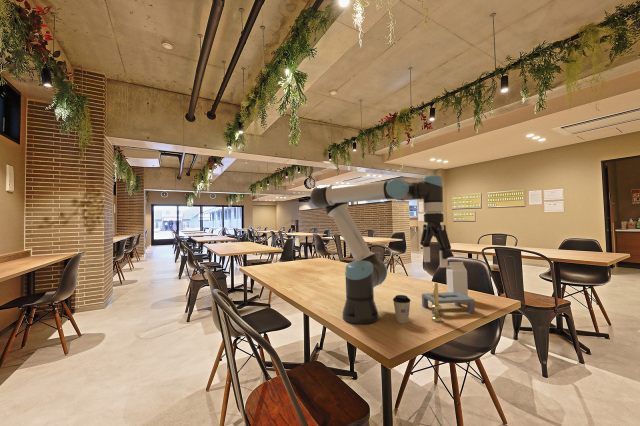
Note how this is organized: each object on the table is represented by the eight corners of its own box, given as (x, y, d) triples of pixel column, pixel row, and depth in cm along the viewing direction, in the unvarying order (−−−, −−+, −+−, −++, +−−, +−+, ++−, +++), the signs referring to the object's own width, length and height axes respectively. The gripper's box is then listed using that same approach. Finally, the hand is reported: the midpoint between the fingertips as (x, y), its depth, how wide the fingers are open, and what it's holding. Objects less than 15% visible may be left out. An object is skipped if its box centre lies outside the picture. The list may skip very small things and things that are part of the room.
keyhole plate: (434, 315, 116) (434, 301, 117) (422, 306, 128) (421, 293, 129) (474, 313, 118) (474, 299, 118) (458, 304, 129) (458, 292, 130)
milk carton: (468, 301, 134) (466, 263, 135) (453, 301, 134) (452, 263, 135) (461, 297, 141) (459, 260, 142) (447, 297, 141) (445, 261, 142)
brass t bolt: (434, 322, 108) (433, 284, 109) (430, 319, 112) (428, 282, 112) (443, 322, 109) (442, 284, 109) (439, 318, 112) (437, 282, 113)
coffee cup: (390, 319, 112) (389, 295, 113) (403, 317, 115) (402, 293, 115) (401, 325, 106) (400, 299, 106) (415, 322, 109) (414, 297, 109)
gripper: (460, 212, 100) (461, 269, 100) (427, 213, 125) (428, 259, 125) (440, 212, 100) (442, 270, 99) (411, 213, 124) (413, 260, 124)
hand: (434, 264), depth 112 cm, fingers open, 13 cm apart
